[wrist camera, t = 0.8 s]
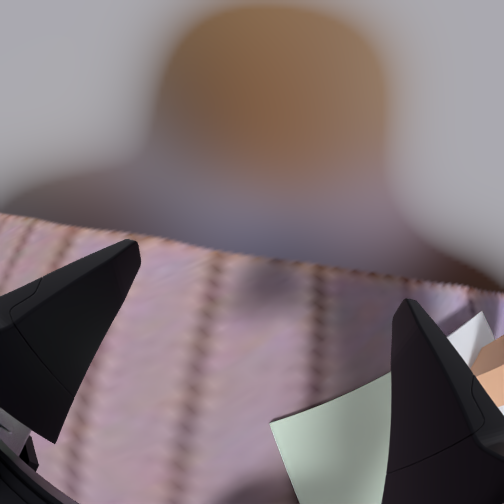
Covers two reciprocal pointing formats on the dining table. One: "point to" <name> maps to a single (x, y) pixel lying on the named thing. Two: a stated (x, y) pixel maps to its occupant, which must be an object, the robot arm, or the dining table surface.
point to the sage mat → (339, 447)
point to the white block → (472, 339)
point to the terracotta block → (491, 370)
